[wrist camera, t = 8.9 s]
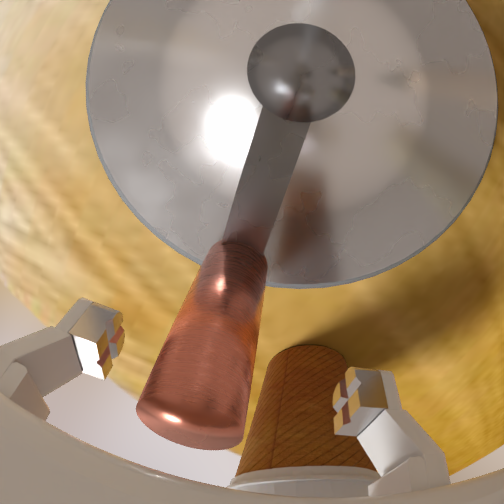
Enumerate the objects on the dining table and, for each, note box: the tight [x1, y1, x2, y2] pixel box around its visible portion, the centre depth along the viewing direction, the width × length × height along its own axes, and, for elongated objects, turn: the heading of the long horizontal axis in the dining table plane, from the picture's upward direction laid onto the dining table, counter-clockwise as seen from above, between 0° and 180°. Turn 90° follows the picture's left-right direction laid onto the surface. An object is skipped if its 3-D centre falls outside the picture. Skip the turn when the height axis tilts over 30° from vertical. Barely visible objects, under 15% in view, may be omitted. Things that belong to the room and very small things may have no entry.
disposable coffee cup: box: [226, 345, 381, 498], centre depth 17 cm, size 10×10×12 cm
